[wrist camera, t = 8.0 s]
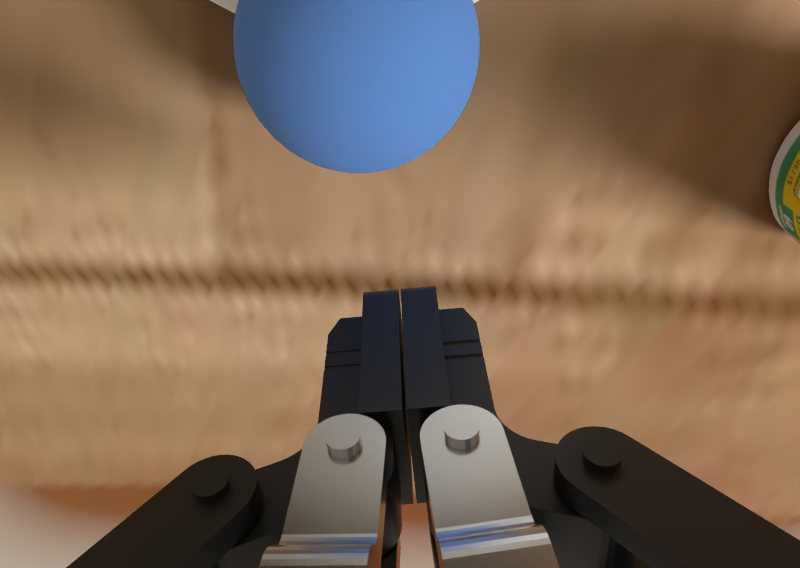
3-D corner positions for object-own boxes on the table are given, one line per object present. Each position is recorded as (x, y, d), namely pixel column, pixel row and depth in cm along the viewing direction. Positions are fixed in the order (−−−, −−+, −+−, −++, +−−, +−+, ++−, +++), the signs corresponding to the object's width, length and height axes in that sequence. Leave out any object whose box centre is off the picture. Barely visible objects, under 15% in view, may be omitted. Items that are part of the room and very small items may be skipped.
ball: (288, 237, 16) (268, 73, 18) (504, 189, 16) (457, 29, 18) (195, 85, 11) (185, -113, 13) (509, 10, 11) (442, -178, 13)
